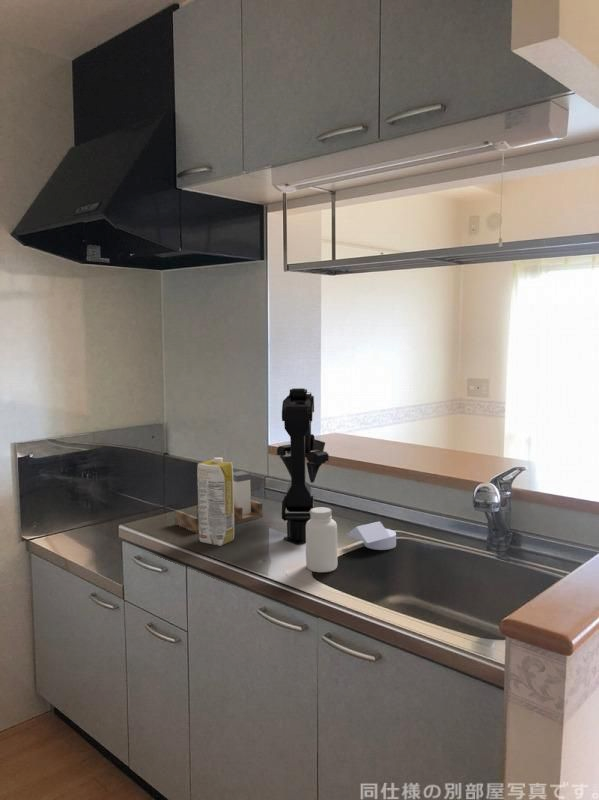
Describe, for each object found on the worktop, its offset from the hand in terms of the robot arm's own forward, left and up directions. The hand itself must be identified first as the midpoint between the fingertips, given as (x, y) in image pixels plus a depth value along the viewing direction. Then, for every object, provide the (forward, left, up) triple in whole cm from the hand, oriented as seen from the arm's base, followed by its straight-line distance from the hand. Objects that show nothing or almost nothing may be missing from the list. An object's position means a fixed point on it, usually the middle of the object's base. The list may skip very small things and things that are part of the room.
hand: (302, 479), depth 206 cm
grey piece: (+15, +14, -11) cm, 23 cm away
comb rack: (+15, +22, -12) cm, 29 cm away
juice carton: (-1, +34, -12) cm, 36 cm away
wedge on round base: (-34, +4, -12) cm, 37 cm away
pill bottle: (-36, +26, -12) cm, 46 cm away
